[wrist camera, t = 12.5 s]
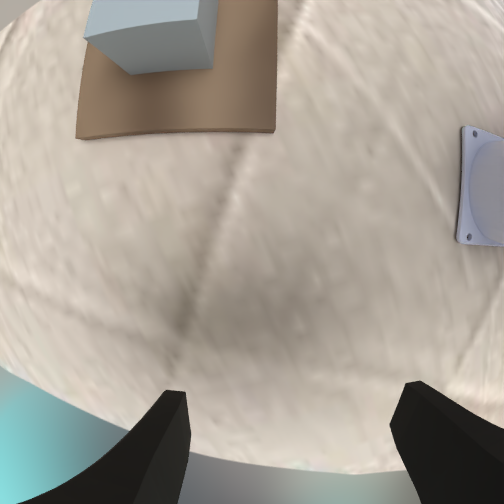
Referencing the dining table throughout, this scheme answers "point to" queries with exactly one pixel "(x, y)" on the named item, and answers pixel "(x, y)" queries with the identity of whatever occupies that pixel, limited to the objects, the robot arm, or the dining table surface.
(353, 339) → the dining table surface
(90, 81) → the walnut base board
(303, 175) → the dining table surface
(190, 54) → the slate block
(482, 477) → the robot arm
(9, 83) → the dining table surface
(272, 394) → the dining table surface
